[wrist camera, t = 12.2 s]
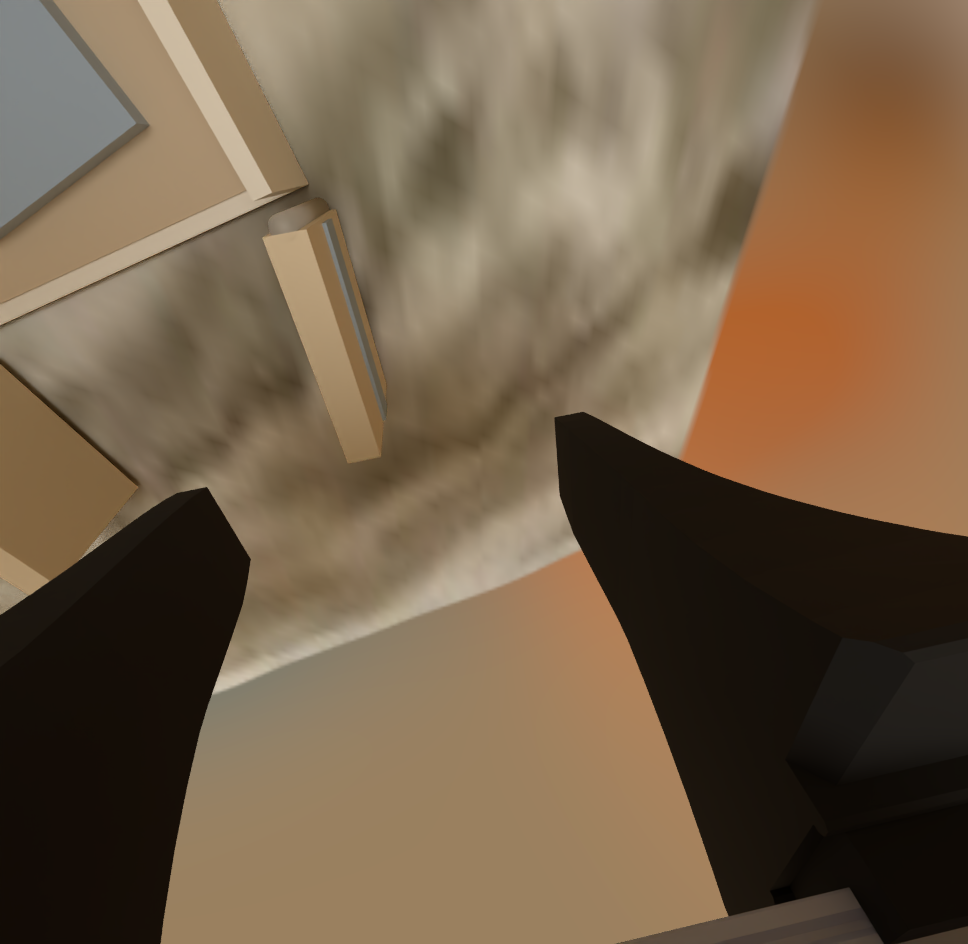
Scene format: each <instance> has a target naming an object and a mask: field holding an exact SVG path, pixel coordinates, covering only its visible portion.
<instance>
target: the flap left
mask: <svg viewBox="0 0 968 944" xmlns="http://www.w3.org/2000/svg"><path fill="white" fill-rule="evenodd" d="M137 488H138V487H137V486H136V485H135V484H134V483H133V482H132V481H130V480H129V479H128V478H127V477H126V476H125V475H124V474H123V473H121V472H120V471H119V470H118V469H117V468H116V467H115V466H114V465H113V464H111V463H110V462H109V461H108V460H107V459H106V458H105V457H104V456H102V455H101V454H100V453H99V452H98V451H97V450H96V449H95V448H93V447H92V446H91V445H90V444H89V443H88V442H87V441H86V440H85V439H83V438H82V437H81V436H80V435H79V434H78V433H77V432H76V431H74V430H73V429H72V428H71V427H70V426H69V425H68V424H67V423H66V422H64V421H63V420H62V419H61V418H60V417H59V416H58V415H57V414H55V413H54V412H53V411H52V410H51V409H50V408H49V407H48V406H46V405H45V404H44V403H43V402H42V401H41V400H40V399H39V398H38V397H36V396H35V395H34V394H33V393H32V392H31V391H30V390H29V389H27V388H26V387H25V386H24V385H23V384H22V383H21V382H20V381H18V380H17V379H16V378H15V377H14V376H13V375H12V374H11V373H10V372H8V371H7V370H6V369H5V368H4V367H3V366H2V365H1V364H0V577H1V578H2V579H4V580H6V581H7V582H9V583H10V584H12V585H13V586H15V587H17V588H18V589H20V590H21V591H23V592H25V593H26V594H28V595H31V594H32V593H33V592H35V591H36V590H38V589H39V588H41V587H42V586H44V585H45V584H46V583H48V582H49V581H51V580H52V579H54V578H55V577H57V576H58V575H59V574H61V573H62V572H64V571H65V570H67V569H68V568H70V567H71V566H72V565H74V564H75V563H77V562H78V560H79V559H80V558H81V557H82V555H83V554H84V553H85V552H86V551H87V549H88V548H89V547H90V546H91V544H92V543H93V542H94V541H95V540H96V538H97V537H98V536H99V535H100V533H101V532H102V531H103V530H104V529H105V527H106V526H107V525H108V524H109V523H110V521H111V520H112V519H113V518H114V516H115V515H116V514H117V513H118V512H119V510H120V509H121V508H122V507H123V505H124V504H125V503H126V502H127V501H128V499H129V498H130V497H131V496H132V494H133V493H134V492H135V491H136V490H137Z"/></svg>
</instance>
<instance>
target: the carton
mask: <svg viewBox="0 0 968 944" xmlns="http://www.w3.org/2000/svg"><path fill="white" fill-rule="evenodd" d="M53 1H54V3H55V4H56V5H57V7H58V8H59V9H60V10H61V12H62V13H63V14H64V15H65V17H66V18H67V19H68V21H69V22H70V23H71V24H72V26H73V27H74V28H75V30H76V31H77V32H78V33H79V35H80V36H81V37H82V39H83V40H84V41H85V42H86V44H87V45H88V46H89V48H90V49H91V50H92V51H93V53H94V54H95V55H96V57H97V58H98V59H99V60H100V62H101V63H102V64H103V66H104V67H105V68H106V69H107V71H108V72H109V73H110V75H111V76H112V77H113V78H114V80H115V81H116V82H117V84H118V85H119V86H120V87H121V89H122V90H123V91H124V93H125V94H126V95H127V96H128V98H129V99H130V100H131V102H132V103H133V104H134V105H135V107H136V108H137V109H138V111H139V112H140V113H141V114H142V116H143V117H144V118H145V120H146V121H147V122H148V123H149V125H150V126H148V127H147V128H146V129H144V130H143V131H142V132H140V133H139V134H138V135H136V136H135V137H134V138H133V139H131V140H130V141H129V142H127V143H126V144H125V145H123V146H122V147H121V148H119V149H118V150H117V151H116V152H114V153H113V154H112V155H110V156H109V157H108V158H106V159H105V160H104V161H102V162H101V163H100V164H99V165H97V166H96V167H95V168H93V169H92V170H91V171H89V172H88V173H87V174H85V175H84V176H83V177H82V178H80V179H79V180H78V181H76V182H75V183H74V184H72V185H71V186H70V187H68V188H67V189H66V190H65V191H63V192H62V193H61V194H59V195H58V196H57V197H55V198H54V199H53V200H51V201H50V202H49V203H48V204H46V205H45V206H44V207H42V208H41V209H40V210H38V211H37V212H36V213H34V214H33V215H32V216H31V217H29V218H28V219H27V220H25V221H24V222H23V223H21V224H20V225H19V226H17V227H16V228H15V229H14V230H12V231H11V232H10V233H8V234H7V235H6V236H4V237H3V238H2V239H0V325H2V324H5V323H7V322H9V321H11V320H13V319H16V318H18V317H20V316H22V315H24V314H26V313H29V312H31V311H33V310H35V309H37V308H40V307H42V306H44V305H46V304H48V303H51V302H53V301H55V300H57V299H59V298H61V297H64V296H66V295H68V294H70V293H72V292H75V291H77V290H79V289H81V288H83V287H85V286H88V285H90V284H92V283H94V282H96V281H99V280H101V279H103V278H105V277H107V276H109V275H112V274H114V273H116V272H118V271H120V270H123V269H125V268H127V267H129V266H131V265H134V264H136V263H138V262H140V261H142V260H144V259H147V258H149V257H151V256H153V255H155V254H158V253H160V252H162V251H164V250H166V249H168V248H171V247H173V246H175V245H177V244H179V243H182V242H184V241H186V240H188V239H190V238H192V237H195V236H197V235H199V234H201V233H203V232H206V231H208V230H210V229H212V228H214V227H217V226H219V225H221V224H223V223H225V222H227V221H230V220H232V219H234V218H236V217H238V216H241V215H243V214H245V213H247V212H249V211H251V210H254V209H256V208H258V207H260V206H262V205H265V204H267V203H269V202H271V201H273V200H275V199H278V198H280V197H282V196H284V195H286V194H289V193H291V192H293V191H295V190H297V189H299V188H302V187H304V186H306V185H308V184H309V183H308V181H307V179H306V177H305V175H304V173H303V171H302V169H301V167H300V166H299V164H298V162H297V160H296V158H295V156H294V154H293V152H292V150H291V148H290V146H289V144H288V142H287V140H286V138H285V136H284V134H283V132H282V130H281V128H280V126H279V124H278V122H277V120H276V118H275V116H274V114H273V112H272V110H271V108H270V106H269V104H268V102H267V100H266V98H265V96H264V94H263V92H262V90H261V88H260V86H259V84H258V82H257V80H256V78H255V76H254V74H253V72H252V70H251V68H250V66H249V64H248V62H247V60H246V58H245V56H244V54H243V52H242V50H241V48H240V46H239V44H238V42H237V40H236V38H235V36H234V34H233V32H232V30H231V28H230V26H229V24H228V22H227V20H226V18H225V16H224V14H223V12H222V10H221V8H220V6H219V4H218V2H217V0H53Z"/></svg>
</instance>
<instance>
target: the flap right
mask: <svg viewBox="0 0 968 944" xmlns="http://www.w3.org/2000/svg"><path fill="white" fill-rule="evenodd" d="M268 228H269V231H270V234H268V235H266V236H264V237H262V238H263V241H264V243H265V246H266V249H267V251H268V254H269V257H270V259H271V262H272V265H273V267H274V270H275V272H276V275H277V278H278V280H279V283H280V286H281V288H282V291H283V293H284V296H285V299H286V301H287V304H288V307H289V309H290V312H291V315H292V317H293V320H294V322H295V325H296V328H297V330H298V333H299V336H300V338H301V341H302V344H303V346H304V349H305V351H306V354H307V357H308V359H309V362H310V365H311V367H312V370H313V373H314V375H315V378H316V380H317V383H318V386H319V388H320V391H321V394H322V396H323V399H324V402H325V404H326V407H327V409H328V412H329V415H330V417H331V420H332V423H333V425H334V428H335V431H336V433H337V436H338V438H339V441H340V444H341V446H342V449H343V452H344V454H345V457H346V460H347V462H348V464H349V463H354V462H359V461H364V460H368V459H373V458H378V457H381V449H382V437H383V424H384V420H386V413H387V403H386V400H385V399H386V387H387V385H386V381H385V378H384V374H383V371H382V367H381V364H380V360H379V357H378V354H377V350H376V347H375V343H374V340H373V336H372V333H371V329H370V326H369V322H368V319H367V316H366V312H365V309H364V305H363V302H362V298H361V295H360V291H359V288H358V284H357V281H356V278H355V274H354V271H353V267H352V264H351V260H350V257H349V253H348V250H347V246H346V243H345V239H344V236H343V233H342V229H341V226H340V222H339V219H338V215H337V212H336V209H334V210H329V207H328V204H327V203H326V201H325V200H323V199H321V198H314V199H311V200H309V201H306V202H304V203H301V204H299V205H296V206H294V207H291V208H289V209H286V210H284V211H281V212H279V213H276V214H274V215H272V216H271V218H270V219H269V222H268Z"/></svg>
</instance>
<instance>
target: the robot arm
mask: <svg viewBox="0 0 968 944" xmlns="http://www.w3.org/2000/svg"><path fill="white" fill-rule="evenodd" d="M555 433H556V447H557V462H558V477H559V491H560V498H561V500H562V503H563V506H564V509H565V512H566V515H567V517H568V520H569V523H570V525H571V528H572V531H573V533H574V535H575V537H576V539H577V541H578V543H579V545H580V547H581V549H582V551H583V553H584V555H585V557H586V559H587V561H588V563H589V565H590V567H591V568H592V570H593V572H594V574H595V576H596V578H597V580H598V582H599V584H600V586H601V587H602V589H603V591H604V593H605V595H606V597H607V599H608V601H609V603H610V605H611V607H612V608H613V610H614V612H615V614H616V616H617V618H618V620H619V622H620V624H621V626H622V629H623V631H624V633H625V635H626V637H627V639H628V642H629V644H630V646H631V649H632V652H633V654H634V657H635V659H636V662H637V664H638V667H639V669H640V672H641V674H642V677H643V679H644V681H645V684H646V687H647V689H648V692H649V695H650V697H651V700H652V703H653V705H654V708H655V710H656V713H657V715H658V718H659V721H660V723H661V726H662V729H663V731H664V734H665V736H666V739H667V742H668V745H669V747H670V750H671V753H672V756H673V758H674V761H675V764H676V767H677V770H678V772H679V775H680V778H681V781H682V783H683V786H684V789H685V791H686V794H687V797H688V800H689V802H690V806H691V809H692V812H693V815H694V817H695V820H696V823H697V826H698V829H699V832H700V835H701V838H702V841H703V844H704V846H705V849H706V852H707V855H708V858H709V861H710V864H711V867H712V870H713V873H714V876H715V879H716V882H717V885H718V888H719V891H720V894H721V897H722V900H723V903H724V906H725V908H726V911H727V913H728V917H724V918H720V919H716V920H712V921H708V922H704V923H699V924H695V925H691V926H687V927H683V928H679V929H675V930H671V931H667V932H662V933H659V934H654V935H650V936H646V937H642V938H637V939H633V940H629V941H625V942H621V943H617V944H968V537H966V536H960V535H954V534H946V533H941V532H935V531H929V530H923V529H919V528H914V527H909V526H904V525H898V524H893V523H888V522H883V521H878V520H873V519H868V518H864V517H859V516H855V515H851V514H846V513H841V512H837V511H833V510H829V509H825V508H821V507H818V506H814V505H810V504H806V503H803V502H798V501H795V500H791V499H788V498H784V497H781V496H777V495H774V494H771V493H767V492H764V491H761V490H758V489H755V488H752V487H749V486H746V485H743V484H740V483H737V482H734V481H732V480H729V479H726V478H723V477H720V476H718V475H715V474H712V473H710V472H707V471H704V470H702V469H700V468H697V467H695V466H693V465H690V464H688V463H686V462H684V461H681V460H679V459H677V458H674V457H672V456H670V455H668V454H666V453H664V452H661V451H659V450H657V449H655V448H653V447H651V446H649V445H647V444H645V443H643V442H641V441H639V440H637V439H635V438H633V437H631V436H629V435H627V434H626V433H624V432H622V431H620V430H618V429H616V428H614V427H612V426H611V425H609V424H607V423H605V422H603V421H601V420H599V419H597V418H595V417H593V416H591V415H589V414H587V413H585V412H580V413H575V414H570V415H565V416H560V417H555ZM250 560H251V559H250V557H249V556H248V554H247V552H246V551H245V549H244V547H243V546H242V544H241V542H240V541H239V539H238V537H237V536H236V534H235V532H234V531H233V529H232V528H231V526H230V524H229V523H228V521H227V519H226V518H225V516H224V514H223V513H222V511H221V509H220V508H219V506H218V504H217V503H216V501H215V499H214V498H213V496H212V494H211V493H210V491H209V489H208V488H207V487H205V488H200V489H195V490H190V491H185V492H180V493H176V494H175V495H173V496H171V497H169V498H167V499H166V500H164V501H162V502H161V503H159V504H158V505H156V506H155V507H153V508H152V509H150V510H149V511H147V512H146V513H144V514H143V515H141V516H140V517H139V518H137V519H136V520H134V521H133V522H132V523H130V524H129V525H127V526H126V527H125V528H123V529H122V530H120V531H119V532H118V533H116V534H115V535H114V536H112V537H111V538H109V539H108V540H107V541H105V542H104V543H103V544H101V545H100V546H98V547H97V548H96V549H94V550H93V551H92V552H90V553H89V554H88V555H86V556H85V557H83V558H82V559H81V560H79V561H78V562H77V563H75V564H74V565H72V566H71V567H70V568H68V569H67V570H65V571H64V572H62V573H61V574H59V575H58V576H57V577H55V578H54V579H52V580H51V581H49V582H48V583H46V584H45V585H44V586H42V587H41V588H39V589H38V590H36V591H35V592H33V593H32V594H31V595H29V596H28V597H26V598H25V599H23V600H22V601H20V602H19V603H18V604H16V605H15V606H13V607H12V608H10V609H9V610H7V611H6V612H4V613H3V614H1V615H0V944H160V943H161V935H162V927H163V919H164V913H165V907H166V900H167V894H168V888H169V881H170V875H171V869H172V863H173V856H174V850H175V845H176V839H177V835H178V830H179V825H180V820H181V815H182V809H183V804H184V799H185V794H186V789H187V784H188V780H189V776H190V772H191V767H192V763H193V759H194V754H195V750H196V746H197V741H198V737H199V733H200V729H201V726H202V723H203V720H204V716H205V713H206V710H207V706H208V703H209V701H210V698H211V695H212V692H213V689H214V686H215V684H216V681H217V678H218V675H219V672H220V669H221V666H222V663H223V661H224V658H225V655H226V652H227V649H228V646H229V643H230V641H231V638H232V635H233V632H234V629H235V626H236V623H237V620H238V617H239V614H240V611H241V608H242V604H243V600H244V595H245V590H246V585H247V580H248V573H249V567H250Z"/></svg>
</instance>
